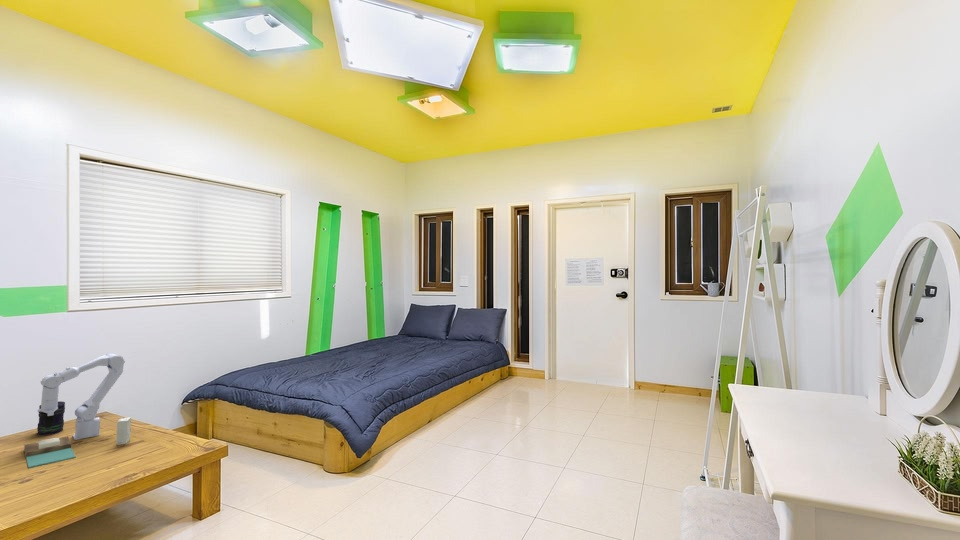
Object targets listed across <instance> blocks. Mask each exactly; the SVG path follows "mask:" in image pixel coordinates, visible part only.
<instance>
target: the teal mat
mask: <svg viewBox="0 0 960 540" xmlns="http://www.w3.org/2000/svg"><path fill="white" fill-rule="evenodd" d="M71 459H76V455H75V452H74V451H73V448H72V447H71V448H67V449H62V450H57V451H53V452H48V453H43V454H38V455H33V456H29V457H26V456H25V460H26V463H27V467H28V469H31V468H36V467H40V466H44V465H45V466H46V465H48V464H54V463H58V462H62V461H68V460H71Z"/></svg>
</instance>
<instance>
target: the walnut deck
mask: <svg viewBox="0 0 960 540" xmlns="http://www.w3.org/2000/svg"><path fill="white" fill-rule="evenodd" d="M58 438H59V440H60V445H57V446H52V447H47V448H42V449H39V448H38V441H37V442H33V443H27V444H24V445H23V446H24V449H23V450H24V454H25V455H26V456H25V455H24V456H25V458H26V457H29V456H33V455H38V454H43V453H48V452H53V451H57V450H62V449H67V448H72V442H71V440H70V438H69V436H65V437H64V436H63V437H58Z"/></svg>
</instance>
